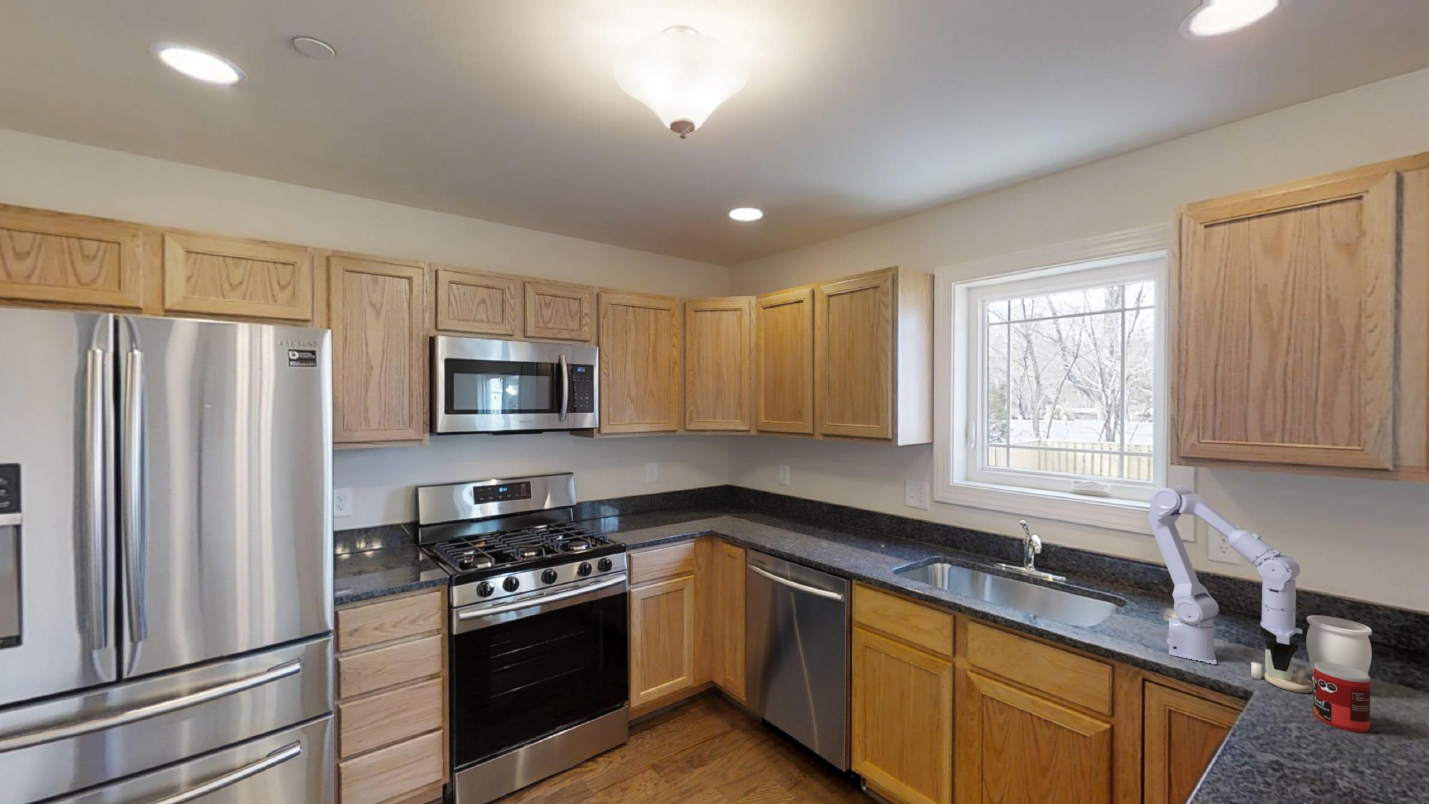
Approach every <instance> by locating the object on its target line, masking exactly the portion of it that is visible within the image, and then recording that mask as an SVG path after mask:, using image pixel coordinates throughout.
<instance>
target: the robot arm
mask: <svg viewBox="0 0 1429 804" xmlns="http://www.w3.org/2000/svg"><path fill="white" fill-rule="evenodd" d="M1148 501H1149V503H1150V505H1149V513H1148V520H1147V521H1148V523H1149V525H1150V528H1151V530H1152V533H1153V536H1154V539H1155V540H1156V543H1157V545H1158V548H1159V550H1160V553H1161V555H1162V557H1163V560H1164V562H1165V566H1166V568H1167V569H1168V570H1167V571H1168V573H1169V574H1170V578H1171V580H1172V583H1173V585H1174V587H1173V592H1172V597H1173V601H1174V605H1173V611H1174V614H1175V615H1176V616H1177V617H1169V618H1168V637H1167V638H1166V642H1167V644H1166V645H1167V646H1168V655H1170V656H1173V657H1177V656H1178V658H1182V659H1186V658H1187V660H1191V659H1192V660H1191V661H1196V660H1198V661H1197V662H1200V661H1204V662H1203V663H1205V662H1206V664H1209V663H1211V664H1210V665H1214V664H1217V665H1218V663H1217V662H1218V661H1217V657H1216V654H1215V622H1214V618H1215V617H1216V616H1217V615H1218V614H1219V611H1220V609H1219V605H1218V602H1217V601H1216V600H1215V598H1213V597H1212V596H1211V595H1210V594H1209V593H1210V592H1209V591H1208V589H1207V588H1206V587H1205V586H1204V585H1203V584H1202V583H1200V581H1199V579H1198V576H1197V574H1196V572H1195V569H1194V567H1193V564H1192V562H1191V559H1190V557H1189V555H1188V552H1187V550H1186V548H1185V545H1184V542H1183V541H1182V538H1181V536H1180V533H1179V530H1178V529H1177V526H1176V522H1177V520H1178V519H1179V517H1180V516H1181V515H1182V514H1183V515H1189V516H1195V517H1197V518H1198V519H1200V520H1202V521H1203V522H1204V523H1206V524H1207V525H1208V526H1210V527H1212V528H1213V529H1214V530H1216V531H1217V532H1218V533H1220V534H1221V535H1222V536H1224V537H1226V538H1227V541H1228V546H1229V547H1231V549H1233V550H1234V551H1235V552H1236V553H1238V554H1239V555H1240V556H1242V557H1243V558H1244V559H1245V560H1247V561H1248V562H1250V563H1251V564H1252V565H1253V566H1254V567H1257V571H1258V574H1259V576H1261V578H1262V586H1261V587H1262V588H1261V621H1260V625H1258V628H1259V629H1260V631H1261V633H1262V635H1263V639H1264V642H1265V645H1266V649H1268V650H1270V652H1271V658H1272V663H1273V666H1274V669H1275V670H1280V671H1285V672H1287V670H1288V667H1289V664H1290V661H1291V659H1292V657H1293V656H1294V655H1295V653H1296V652H1297V651H1298V650H1299V647H1300V646H1299V644H1298V643H1295V642H1290V638H1291V637H1292V636H1294V635H1296V634H1300V635H1301V634H1303V629H1302V628H1300V627H1296V608H1297V605H1296V604H1297V603H1296V602H1297V601H1296V600H1297V598H1296V597H1297V593H1296V592H1297V590H1296V578H1297V577H1298V576H1299V575H1300V573H1301V568H1300V565H1299V563H1298V562H1297V561H1296V560H1295V559H1294V558H1293V557H1292V556H1291V555H1288V554H1285V553H1284V554H1282V551H1281V550H1279V549H1277V548H1276V549H1275V548H1273V547H1272V546H1271V545H1270V544H1268V543H1266V541H1264V540H1263V539H1261V537H1262V535H1260V534H1259V533H1258V532H1252V531H1251V530H1246V529H1245V530H1244V529H1240V528H1238V527H1237V526H1236V525H1235V524H1234V523H1233V522H1231V521H1230V520H1229V519H1228V518H1226V517H1225V516H1224V515H1223V514H1222V513H1220V511H1218V510H1217V509H1215V507H1213V506H1212V505H1210V504H1209V502H1207V501H1206V500H1205V499H1204V497H1202V496H1201V495H1200V494H1198V493H1197V492H1194V491H1193V490H1192V489H1191V488H1190V487H1188V486H1185V485H1175V486H1171V487H1159V488H1157V489H1156V490H1155V491H1154V492H1153V493H1152V494H1151V496H1150V497H1149V498H1148Z"/></svg>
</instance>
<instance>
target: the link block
mask: <svg viewBox="0 0 1429 804" xmlns="http://www.w3.org/2000/svg"><path fill="white" fill-rule="evenodd" d="M1264 650H1265V652H1264V653H1265V654H1264V655H1265V656H1264V657H1265V658H1264V659H1265V660H1264V663H1265V664H1264V670H1265V671H1266V673H1267V675H1268V676H1271V677H1276V678H1280V679H1285V680H1289V681H1291V673H1292V658H1291V661H1290V664H1289V667H1288V670H1287V672H1285V671H1280V670H1275V669H1274V666H1273V663H1272V658H1271V652H1270V650H1268V649H1267V648H1265V649H1264Z"/></svg>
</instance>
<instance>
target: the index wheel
mask: <svg viewBox="0 0 1429 804" xmlns="http://www.w3.org/2000/svg"><path fill="white" fill-rule="evenodd" d="M1264 680H1265V681H1266V680H1267V681H1266V682H1267V683H1268V682H1269V683H1268V684H1270V683H1271V685H1272V684H1273V685H1272V686H1274V685H1275V686H1274V687H1277V688H1279V689H1283V690H1286V691H1291V692H1296V693H1305V694H1308V693H1309V694H1310V693H1312V692H1313V690H1314V683H1313V681H1312V680H1309V678H1307V667H1306V666H1304V665H1300V664H1297V665H1296V672H1295V673H1292V672H1291V681H1289V680H1285V679H1280V678H1276V677H1271V676H1268V675H1267V673H1266V670H1265V671H1264Z"/></svg>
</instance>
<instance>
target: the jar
mask: <svg viewBox="0 0 1429 804" xmlns="http://www.w3.org/2000/svg"><path fill="white" fill-rule="evenodd" d="M1306 622H1307V623H1308V624H1309V627H1308V629H1307V634H1306V638H1305V639H1306V642H1305V644H1306V651H1307V654H1308V661H1309V664H1310V667H1311V670H1312V673H1314V664H1315V663H1316V662H1329V663H1336V664H1340V665H1345V666H1348V667H1351V668H1355V669H1357V670H1360V671H1362V672H1364V673H1366V674H1367V675H1369V670H1370V667H1371V663H1372V656H1373V655H1372V653H1373V652H1372V644H1371V641H1370V638H1369V636H1371V635H1372V632H1373V631H1372V629H1371V627H1369V626H1367V625H1365V624H1362V623H1359V622H1356V621H1353V620H1349V619H1345V618H1340V617H1334V616H1328V615H1308V616H1307V617H1306ZM1311 681H1312V682H1314V675H1313V676H1312V677H1311Z"/></svg>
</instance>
